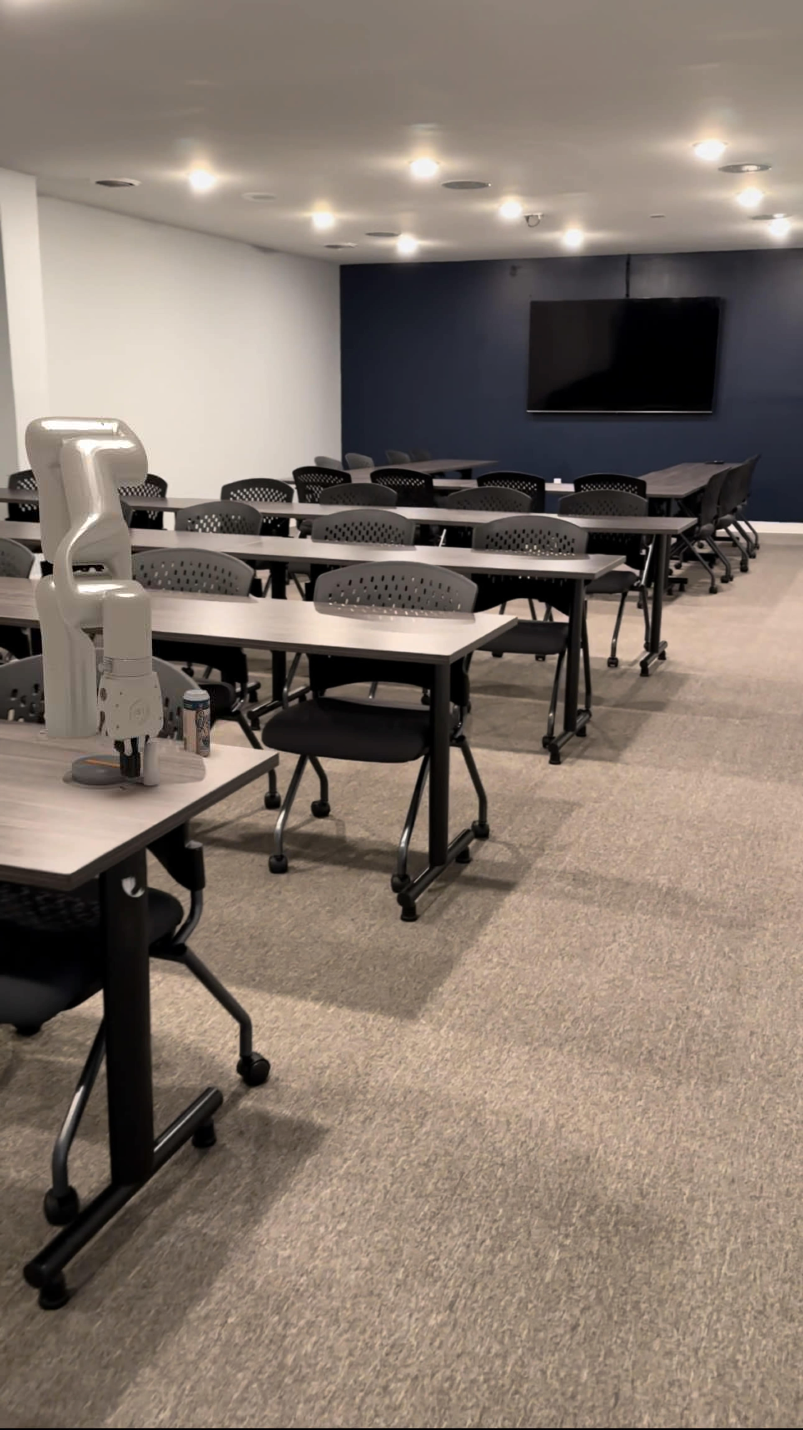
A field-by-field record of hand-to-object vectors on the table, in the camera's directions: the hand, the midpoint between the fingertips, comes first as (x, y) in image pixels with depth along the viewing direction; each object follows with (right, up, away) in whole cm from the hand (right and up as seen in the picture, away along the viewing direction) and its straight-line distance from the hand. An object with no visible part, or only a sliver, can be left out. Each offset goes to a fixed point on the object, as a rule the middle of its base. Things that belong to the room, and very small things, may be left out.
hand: (130, 775), depth 199 cm
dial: (-4, -1, +6) cm, 7 cm away
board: (-5, -2, +8) cm, 10 cm away
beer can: (+7, +2, +26) cm, 27 cm away
